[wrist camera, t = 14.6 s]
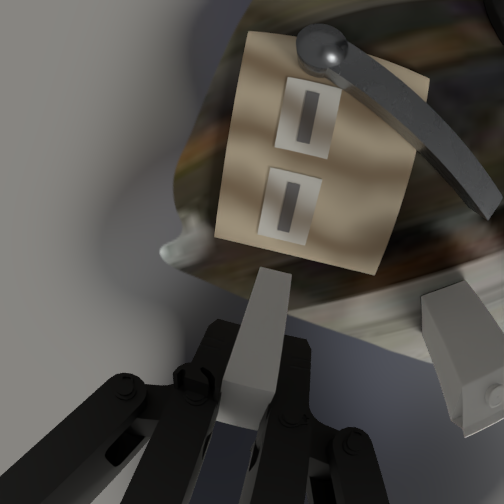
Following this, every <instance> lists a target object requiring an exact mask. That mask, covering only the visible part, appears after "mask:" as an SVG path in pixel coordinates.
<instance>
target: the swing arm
mask: <svg viewBox="0 0 504 504" xmlns="http://www.w3.org/2000/svg"><path fill="white" fill-rule="evenodd" d="M296 50H297V58H298V63H299V65H300V67H301V68H302V69H303V71H305V72H306V73H307V74H309V75H311V76H313V77H317V78H326V79H328V80H329V81H331V82H332V83H334V84H335V85H337V86H338V87H340V88H341V89H343V90H344V91H346V92H347V93H349V94H350V95H351V96H353V97H354V98H355V99H357V100H358V101H360V102H361V103H362V104H364V105H365V106H366V107H367V108H369V109H370V110H371V111H373V112H374V113H375V114H376V115H378V116H379V117H380V118H381V119H382V120H384V121H385V122H386V123H387V124H388V125H390V126H391V127H392V128H393V129H394V130H395V131H397V132H398V133H399V134H400V135H401V136H402V137H403V138H404V139H405V140H407V141H408V142H409V143H410V144H411V145H412V146H413V147H414V148H415V149H416V150H417V151H418V152H419V153H420V154H421V155H422V156H423V157H424V158H425V159H426V160H427V161H428V162H429V163H430V164H431V165H432V166H433V167H434V168H435V169H436V170H437V171H438V172H439V173H440V174H441V176H442V177H443V178H444V179H445V180H446V181H447V182H448V183H449V185H450V186H451V187H452V188H453V189H454V190H455V191H456V193H457V194H458V195H459V196H460V197H461V199H462V200H463V201H464V202H465V204H466V205H467V206H468V207H469V208H470V209H472V210H473V211H475V212H476V213H478V214H479V215H481V216H482V217H484V218H485V219H487V220H489V218H490V217H491V215H492V214H493V212H494V211H495V209H496V208H497V206H498V205H499V203H500V202H501V200H502V199H503V196H502V195H501V193H500V192H499V190H498V188H497V187H496V185H495V184H494V182H493V181H492V179H491V178H490V177H489V175H488V174H487V172H486V171H485V170H484V168H483V167H482V165H481V164H480V163H479V161H478V160H477V159H476V157H475V156H474V155H473V154H472V152H471V151H470V150H469V149H468V147H467V146H466V145H465V144H464V143H463V141H462V140H461V139H460V138H459V137H458V136H457V134H456V133H455V132H454V131H453V130H452V129H451V128H450V127H449V125H448V124H447V123H446V122H445V121H444V120H443V119H442V118H441V117H440V116H439V115H438V114H437V113H436V112H435V111H434V110H433V109H432V108H431V107H430V106H429V105H428V104H427V103H426V102H425V101H424V100H423V99H422V98H421V97H420V96H418V95H417V94H416V93H415V92H414V91H413V90H412V89H411V88H410V87H408V86H407V85H406V84H405V83H404V82H402V81H401V80H400V79H399V78H398V77H396V76H395V75H394V74H393V73H391V72H390V71H389V70H388V69H386V68H385V67H384V66H382V65H381V64H380V63H378V62H377V61H376V60H374V59H373V58H372V57H370V56H369V55H367V54H366V53H364V52H363V51H362V50H360V49H359V48H357V47H356V46H354V45H352V44H351V43H349V42H348V41H347V40H346V38H345V36H344V35H343V34H342V33H341V32H340V31H339V30H338V29H336V28H334V27H332V26H330V25H326V24H312V25H309V26H306V27H305V28H303V29H302V30H301V31H300V32H299V34H298V35H297V38H296Z"/></svg>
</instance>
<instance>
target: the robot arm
mask: <svg viewBox="0 0 504 504" xmlns="http://www.w3.org/2000/svg"><path fill="white" fill-rule="evenodd" d="M484 4H485V8H486V11H487V14H488V16H489V19H490V21H491V23H492V25H493V27H494V29H495V31H496V33H497V35H498V36H499V38H500V40H501V41H502V43H503V45H504V0H484ZM291 276H292V274H288V273H284V272H279V271H275V270H271V269H267V268H263V267H260V269H259V272H258V275H257V278H256V281H255V284H254V287H253V291H252V294H251V297H250V300H249V303H248V306H247V309H246V312H245V315H244V318H243V321H242V324H241V325H239V324H235V323H231V322H227V321H224V320H220V319H217V320H216V321H214V322H213V323H212V324H210V325H209V327H208V328H207V331H206V333H205V335H204V337H203V339H202V341H201V343H200V346H199V348H198V350H197V352H196V354H195V356H194V358H193V360H192V362H191V363H185V364H183V365H181V366H179V367H178V368H177V369H176V370H175V371H174V372H173V381H174V384H171V385H165V386H164V385H163V386H160V385H149V384H144V382H143V381H142V380H141V379H140V378H139V377H138V376H135V375H133V374H129V373H120V374H116V375H114V376H113V377H111V378H110V379H108V380H107V381H106V382H105V383H104V384H103V385H102V386H101V387H100V388H98V389H97V390H96V391H95V392H94V393H93V394H92V395H91V396H89V397H88V398H87V399H86V400H85V401H84V402H83V403H82V404H81V405H79V406H78V407H77V408H76V409H75V410H74V411H73V412H72V413H70V414H69V415H68V416H67V417H66V418H65V419H64V420H63V421H62V422H60V423H59V424H58V425H57V426H56V427H55V428H54V429H53V430H52V431H50V432H49V433H48V434H47V435H46V436H45V437H44V438H43V439H41V440H40V441H39V442H38V443H37V444H36V445H35V446H34V447H33V448H31V449H30V450H29V451H28V452H27V453H26V454H25V455H24V456H23V457H22V458H20V459H19V460H18V461H17V462H16V463H15V464H14V465H13V466H11V467H10V468H9V469H8V470H7V471H6V472H5V473H4V474H2V475H1V476H0V504H90V503H91V502H92V501H93V500H94V499H95V498H96V497H97V496H98V495H99V494H100V493H101V492H102V490H104V489H105V487H107V485H108V484H109V483H110V482H111V481H112V480H113V479H114V478H115V477H116V476H117V475H118V474H119V473H120V472H121V470H122V469H123V468H124V467H125V466H126V465H127V464H128V463H129V462H130V461H131V459H132V458H133V457H134V456H135V455H136V454H137V453H138V452H139V450H140V449H141V448H142V447H143V446H144V445H145V444H146V443H147V441H148V440H149V439H150V440H149V443H148V445H147V447H146V449H145V451H144V453H143V455H142V458H141V460H140V462H139V464H138V466H137V468H136V471H135V473H134V475H133V477H132V479H131V482H130V483H129V486H128V488H127V490H126V492H125V495H124V497H123V499H122V501H121V503H120V504H189V501H190V498H191V495H192V493H193V490H194V487H195V484H196V481H197V478H198V475H199V472H200V469H201V466H202V463H203V460H204V457H205V454H206V451H207V448H208V445H209V442H210V439H211V436H212V432H213V427H214V424H215V421H220V422H224V423H227V424H231V425H236V426H239V427H243V428H248V429H252V430H258V433H257V438H256V440H255V442H254V444H253V445H252V448H251V449H250V451H251V457H250V461H249V465H248V469H247V473H246V477H245V481H244V485H243V489H242V493H241V497H240V501H239V504H304V500H305V493H306V492H307V498H308V504H389V500H388V497H387V493H386V489H385V486H384V482H383V478H382V475H381V471H380V468H379V464H378V461H377V458H376V454H375V451H374V448H373V444H372V441H371V439H370V438H369V436H368V434H366V433H365V432H364V431H363V430H361V429H358V428H356V427H347V428H345V429H342V430H340V431H338V430H336V429H334V428H331V427H329V426H326V425H324V424H322V423H321V422H319V421H318V420H317V419H316V418H314V416H313V415H312V413H311V411H310V408H309V391H310V369H311V363H310V362H311V348H310V346H309V344H308V342H307V340H306V339H301V338H297V337H293V336H288V335H284V332H285V324H286V317H287V309H288V301H289V293H290V285H291Z"/></svg>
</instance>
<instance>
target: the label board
mask: <svg viewBox="0 0 504 504" xmlns="http://www.w3.org/2000/svg"><path fill="white" fill-rule="evenodd" d="M296 38H297V37H295V36H288V35H282V34H274V33H265V32H255V31H248V35H247V40H246V44H245V49H244V54H243V59H242V64H241V69H240V74H239V79H238V85H237V90H236V96H235V101H234V107H233V113H232V118H231V124H230V130H229V136H228V143H227V149H226V155H225V162H224V169H223V176H222V183H221V190H220V197H219V204H218V212H217V220H216V228H215V236H214V237H217V238H221V239H225V240H230V241H234V242H238V243H242V244H247V245H251V246H255V247H259V248H263V249H268V250H272V251H276V252H280V253H284V254H289V255H293V256H297V257H301V258H305V259H309V260H313V261H318V262H322V263H326V264H330V265H334V266H338V267H342V268H347V269H351V270H355V271H359V272H363V273H367V274H371V275H375V274H376V271H377V269H378V266H379V264H380V261H381V259H382V256H383V254H384V251H385V249H386V246H387V244H388V241H389V238H390V236H391V233H392V230H393V227H394V224H395V222H396V219H397V216H398V213H399V210H400V207H401V204H402V200H403V197H404V194H405V191H406V187H407V184H408V181H409V177H410V173H411V170H412V166H413V162H414V158H415V154H416V149H415V148H414V147H413V146H412V145H411V144H410V143H409V142H408V141H407V140H405V139H404V138H403V137H402V136H401V135H400V134H399V133H398V132H397V131H395V130H394V129H393V128H392V127H391V126H390V125H388V124H387V123H386V122H385V121H384V120H382V119H381V118H380V117H379V116H378V115H376V114H375V113H374V112H373V111H371V110H370V109H369V108H367V107H366V106H365V105H364V104H362V103H361V102H360V101H358V100H357V99H355V98H354V97H353V96H351V95H350V94H349V93H347V92H346V91H344V90H343V89H341V88H340V87H338V86H337V85H335V84H334V83H332V82H331V81H329V80H328V79H326V78H317V77H313V76H311V75H309V74H307V73H306V72H305V71H303V69H302V68H301V67H300V65H299V63H298V58H297V50H296ZM367 55H369V54H367ZM369 56H370V57H372V58H373V59H374V60H376V61H377V62H378V63H380V64H381V65H382V66H384V67H385V68H386V69H388V70H389V71H390V72H391V73H393V74H394V75H395V76H396V77H398V78H399V79H400V80H401V81H402V82H404V83H405V84H406V85H407V86H408V87H410V88H411V89H412V90H413V91H414V92H415V93H416V94H417V95H418V96H420V97H421V98H422V99H423V100H424V101H425V102H426V101H427V95H428V88H429V81H430V79H429V78H427V77H424V76H422V75H420V74H418V73H416V72H413V71H411V70H409V69H406V68H404V67H402V66H399V65H396V64H394V63H391V62H389V61H386V60H383V59H380V58H378V57H375V56H372V55H369Z"/></svg>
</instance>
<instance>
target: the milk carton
mask: <svg viewBox="0 0 504 504" xmlns="http://www.w3.org/2000/svg"><path fill="white" fill-rule="evenodd" d="M421 303H422V336H423V338H424V341H425V343H426V346H427V349H428V351H429V354H430V356H431V359H432V362H433V365H434V367H435V370H436V373H437V376H438V378H439V382H440V385H441V388H442V391H443V394H444V398H445V401H446V405H447V408H448V412H449V415H450V419H451V421H452V422H453V423H455V424H456V425H458V426H459V427H460V428H461V429H462V430H463V433H464V437H465V438H466V437H468V436H470V435H472V434H474V433H477V432H479V431H481V430H483V429H485V428H487V427H489V426H491V425H493V424H495V423H496V422H498V421H500V420H502V419H504V334H503V332H502V330H501V329H500V327H499V326H498V324H497V323H496V321H495V320H494V318H493V317H492V315H491V314H490V312H489V311H488V310H487V308H486V307H485V305H484V304H483V303H482V301H481V300H480V298H479V297H478V296H477V294H476V293H475V292H474V290H473V289H472V288H471V287H470V285H469V284H468V283H467V281H465V280H464V281H461V282H459V283H456V284H453V285H451V286H448V287H445V288H443V289H440V290H437V291H434V292H431V293H429V294H426V295H423V296H421Z"/></svg>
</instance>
